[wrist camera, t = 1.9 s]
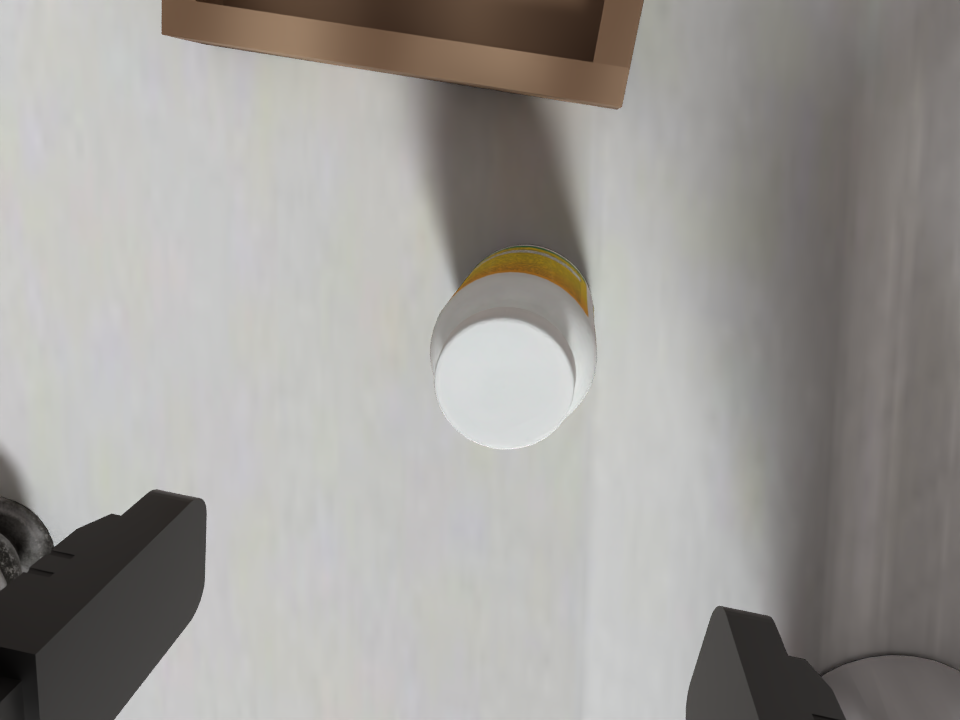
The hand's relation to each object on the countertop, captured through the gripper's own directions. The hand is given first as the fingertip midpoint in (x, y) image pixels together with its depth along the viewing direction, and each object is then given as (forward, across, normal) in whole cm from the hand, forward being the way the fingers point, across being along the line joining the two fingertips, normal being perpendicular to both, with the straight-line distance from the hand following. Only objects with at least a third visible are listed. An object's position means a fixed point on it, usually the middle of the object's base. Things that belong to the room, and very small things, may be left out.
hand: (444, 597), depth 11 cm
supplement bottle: (+19, 0, 0) cm, 19 cm away
